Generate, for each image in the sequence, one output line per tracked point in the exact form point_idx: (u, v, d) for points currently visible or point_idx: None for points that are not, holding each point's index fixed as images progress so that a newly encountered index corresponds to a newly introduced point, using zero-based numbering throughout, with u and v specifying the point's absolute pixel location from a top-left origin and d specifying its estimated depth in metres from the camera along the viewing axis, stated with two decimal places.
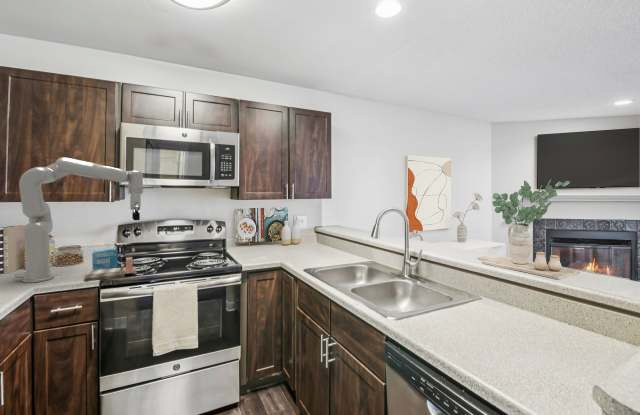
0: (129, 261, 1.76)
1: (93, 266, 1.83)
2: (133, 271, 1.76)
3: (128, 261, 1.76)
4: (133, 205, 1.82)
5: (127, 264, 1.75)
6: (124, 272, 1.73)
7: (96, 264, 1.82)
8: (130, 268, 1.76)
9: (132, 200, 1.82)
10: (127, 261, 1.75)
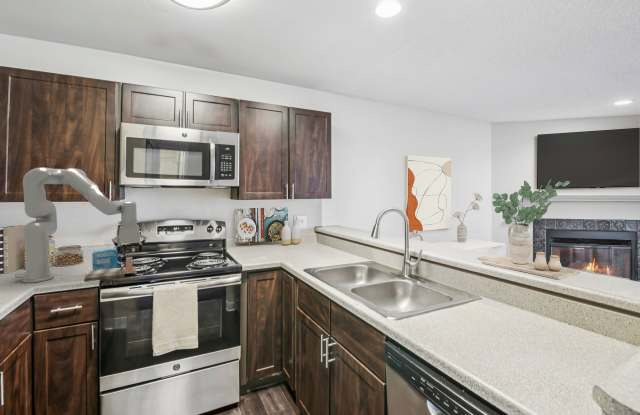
0: (129, 261, 1.76)
1: (93, 266, 1.83)
2: (133, 271, 1.76)
3: (128, 261, 1.76)
4: (139, 237, 1.79)
5: (127, 264, 1.75)
6: (124, 272, 1.73)
7: (96, 264, 1.82)
8: (130, 268, 1.76)
9: (139, 232, 1.78)
10: (127, 261, 1.75)
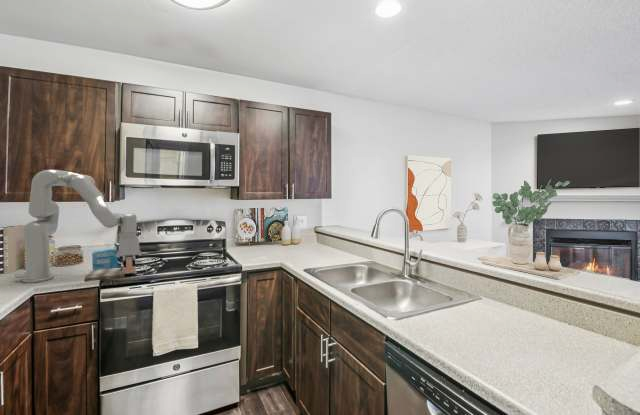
0: (129, 261, 1.76)
1: (93, 266, 1.83)
2: (133, 271, 1.76)
3: (128, 261, 1.76)
4: None
5: (127, 264, 1.75)
6: (124, 272, 1.73)
7: (96, 264, 1.82)
8: (130, 268, 1.76)
9: (138, 244, 1.79)
10: (127, 261, 1.75)
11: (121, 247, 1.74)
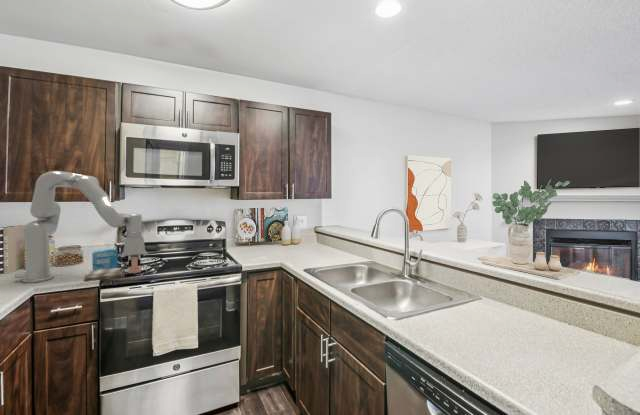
0: (134, 261, 1.77)
1: (93, 266, 1.83)
2: (138, 270, 1.77)
3: (134, 260, 1.77)
4: None
5: (132, 264, 1.77)
6: (129, 271, 1.75)
7: (96, 264, 1.82)
8: (135, 267, 1.78)
9: None
10: (132, 261, 1.77)
11: (127, 247, 1.75)
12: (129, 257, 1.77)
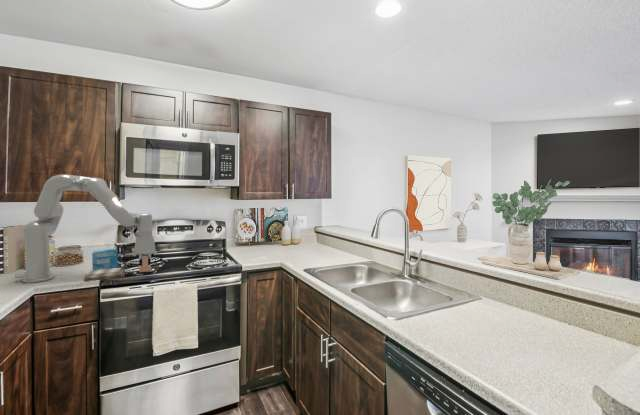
0: (145, 260, 1.80)
1: (93, 266, 1.83)
2: (149, 269, 1.80)
3: (145, 259, 1.80)
4: None
5: (143, 263, 1.79)
6: (140, 270, 1.78)
7: (96, 264, 1.82)
8: (146, 266, 1.80)
9: (154, 243, 1.83)
10: (143, 260, 1.79)
11: (137, 246, 1.78)
12: (140, 256, 1.80)
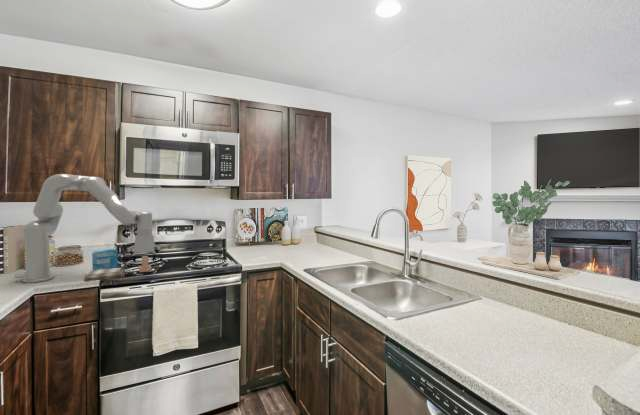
0: (145, 260, 1.80)
1: (93, 266, 1.83)
2: (149, 269, 1.80)
3: (145, 259, 1.80)
4: None
5: (143, 263, 1.79)
6: (140, 270, 1.78)
7: (96, 264, 1.82)
8: (146, 266, 1.80)
9: (153, 241, 1.83)
10: (143, 260, 1.79)
11: (137, 244, 1.78)
12: (134, 253, 1.78)
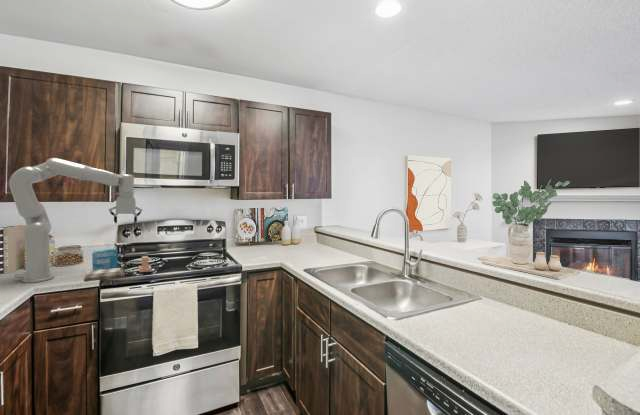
0: (145, 260, 1.80)
1: (93, 266, 1.83)
2: (149, 269, 1.80)
3: (145, 259, 1.80)
4: (135, 209, 1.88)
5: (143, 263, 1.79)
6: (140, 270, 1.78)
7: (96, 264, 1.82)
8: (146, 266, 1.80)
9: (135, 204, 1.87)
10: (143, 260, 1.79)
11: (118, 205, 1.82)
12: (116, 214, 1.83)
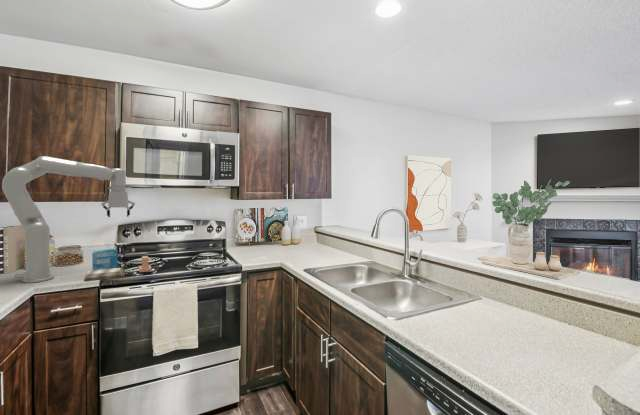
0: (145, 260, 1.80)
1: (93, 266, 1.83)
2: (149, 269, 1.80)
3: (145, 259, 1.80)
4: (128, 202, 1.91)
5: (143, 263, 1.79)
6: (140, 270, 1.78)
7: (96, 264, 1.82)
8: (146, 266, 1.80)
9: (127, 197, 1.90)
10: (143, 260, 1.79)
11: (111, 199, 1.85)
12: (108, 208, 1.86)
